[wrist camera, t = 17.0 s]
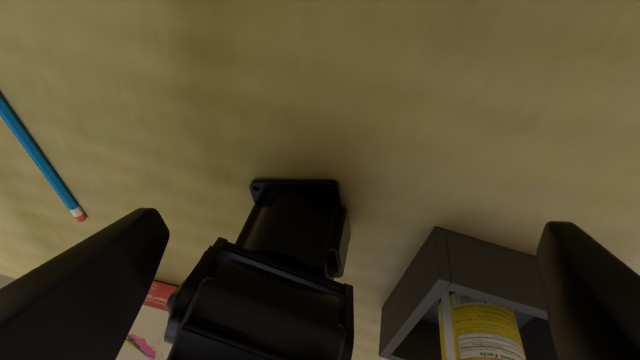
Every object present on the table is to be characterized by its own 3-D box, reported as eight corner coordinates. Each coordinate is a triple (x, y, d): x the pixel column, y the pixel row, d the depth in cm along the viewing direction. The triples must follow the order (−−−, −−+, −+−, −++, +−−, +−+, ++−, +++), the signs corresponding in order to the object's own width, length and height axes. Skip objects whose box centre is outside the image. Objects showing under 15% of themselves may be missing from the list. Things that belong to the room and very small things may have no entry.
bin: (381, 307, 33) (378, 356, 29) (435, 226, 25) (438, 279, 22) (503, 344, 32) (514, 398, 29) (593, 273, 25) (622, 334, 22)
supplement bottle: (476, 324, 30) (497, 464, 23) (423, 298, 30) (428, 435, 22) (527, 296, 27) (571, 451, 20) (468, 267, 26) (492, 416, 19)
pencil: (81, 216, 33) (76, 221, 33) (-56, 23, 23) (-67, 27, 22) (88, 217, 33) (83, 222, 32) (-46, 23, 22) (-58, 26, 22)
